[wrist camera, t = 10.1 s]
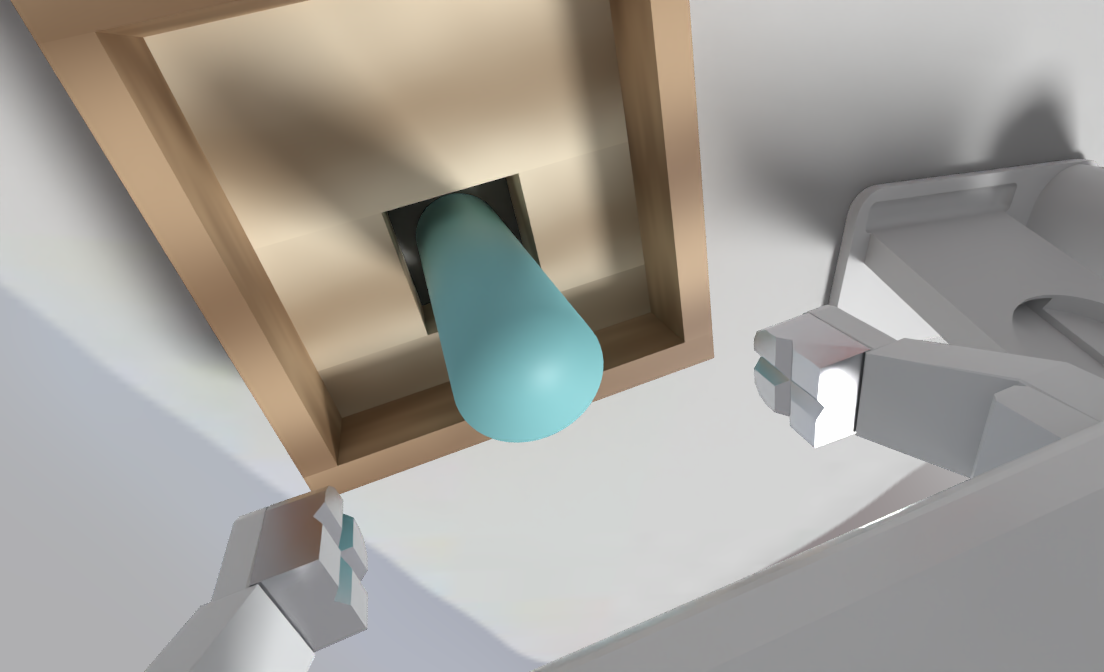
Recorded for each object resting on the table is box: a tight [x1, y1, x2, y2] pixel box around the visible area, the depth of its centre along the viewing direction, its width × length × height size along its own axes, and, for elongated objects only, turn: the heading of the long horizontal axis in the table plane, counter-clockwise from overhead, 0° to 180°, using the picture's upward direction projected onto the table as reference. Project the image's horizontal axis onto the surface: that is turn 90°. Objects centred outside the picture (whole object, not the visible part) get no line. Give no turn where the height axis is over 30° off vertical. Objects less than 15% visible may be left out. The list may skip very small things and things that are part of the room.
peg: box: [416, 193, 603, 442], centre depth 18 cm, size 4×4×12 cm
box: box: [11, 0, 714, 494], centre depth 19 cm, size 16×16×6 cm
